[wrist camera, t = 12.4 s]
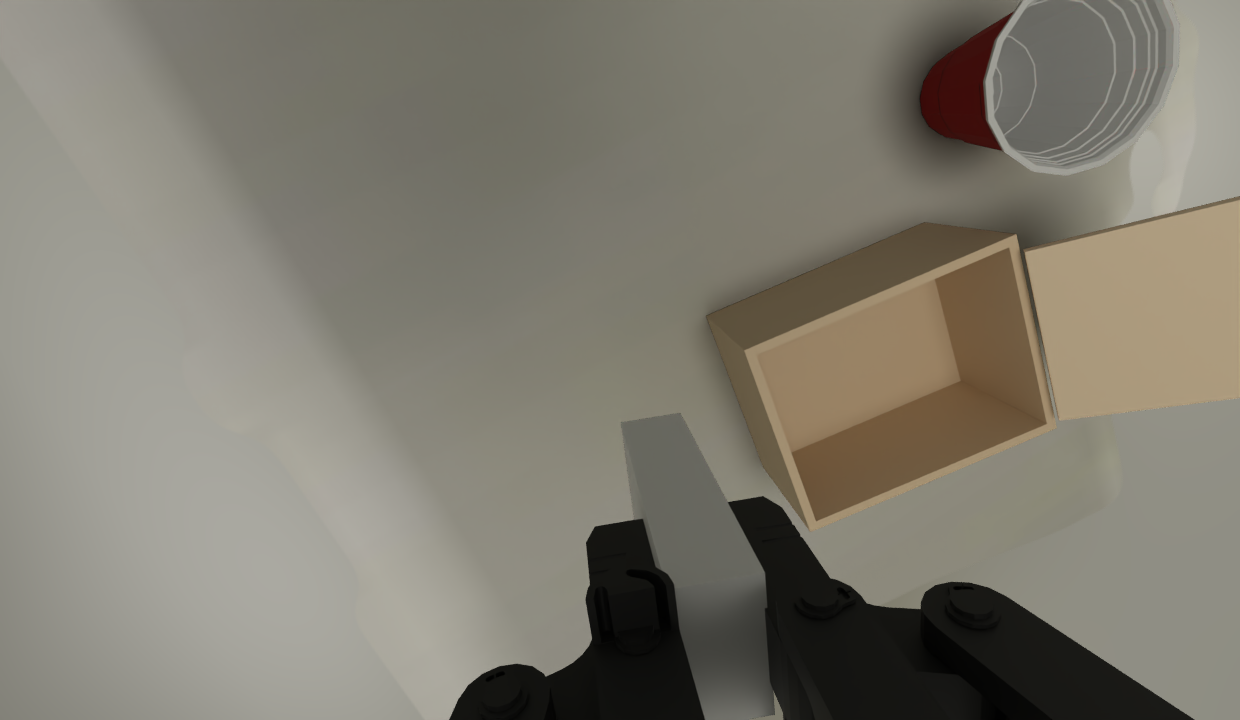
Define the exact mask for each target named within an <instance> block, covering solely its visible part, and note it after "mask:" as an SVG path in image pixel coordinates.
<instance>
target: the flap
mask: <svg viewBox="0 0 1240 720" xmlns="http://www.w3.org/2000/svg"><path fill="white" fill-rule="evenodd" d="M1024 254H1025V259H1026V264H1027V269H1028V274H1029V279H1030V283H1031V288H1032V293H1033V298H1034V303H1035V308H1036V312H1037V317H1038V322H1039V327H1040V332H1041V337H1042V342H1043V346H1044V351H1045V356H1046V361H1047V366H1048V371H1049V376H1050V380H1051V385H1052V390H1053V395H1054V400H1055V405H1056V410H1057V414H1058V418H1059V421H1060V420H1068V419H1076V418H1084V417H1092V416H1100V415H1108V414H1116V413H1123V412H1132V411H1140V410H1147V409H1155V408H1163V407H1171V406H1180V405H1188V404H1196V403H1203V402H1211V401H1219V400H1227V399H1235V398H1240V196H1239V197H1234V198H1231V199H1226V200H1222V201H1218V202H1214V203H1210V204H1206V205H1202V206H1198V207H1193V208H1189V209H1185V210H1181V211H1177V212H1173V213H1169V214H1165V215H1161V216H1157V217H1153V218H1149V219H1145V220H1140V221H1136V222H1132V223H1128V224H1124V225H1120V226H1116V227H1112V228H1108V229H1103V230H1099V231H1095V232H1091V233H1087V234H1083V235H1079V236H1075V237H1071V238H1067V239H1063V240H1058V241H1054V242H1050V243H1046V244H1042V245H1038V246H1034V247H1030V248H1026V249H1024Z"/></svg>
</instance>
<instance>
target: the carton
mask: <svg viewBox="0 0 1240 720" xmlns="http://www.w3.org/2000/svg"><path fill="white" fill-rule="evenodd" d="M706 317H707V320H708V322H709V325H710V328H711V330H712V333H713V336H714V338H715V341H716V344H717V346H718V349H719V351H720V354H721V357H722V359H723V362H724V365H725V367H726V370H727V373H728V375H729V378H730V380H731V383H732V386H733V388H734V391H735V394H736V396H737V399H738V402H739V404H740V407H741V410H742V412H743V415H744V417H745V420H746V423H747V425H748V428H749V431H750V433H751V436H752V439H753V441H754V444H755V446H756V449H757V452H758V454H759V457H760V460H761V462H762V465H763V467H764V469H765V470H766V472H767V473H768V474H769V476H770V477H771V478H772V480H773V481H774V483H775V484H776V485H777V487H778V488H779V489H780V491H781V492H782V494H783V495H784V496H785V498H786V499H787V500H788V502H789V503H790V505H791V506H792V507H793V509H794V510H795V511H796V513H797V514H798V516H799V517H800V518H801V520H802V521H803V522H804V524H805V525H806V527H807V528H808V529H809V531H810V532H812V531H814V530H816V529H819V528H821V527H824V526H826V525H828V524H831V523H833V522H835V521H838V520H840V519H842V518H845V517H847V516H850V515H852V514H854V513H857V512H859V511H861V510H864V509H866V508H869V507H871V506H873V505H876V504H878V503H880V502H883V501H885V500H887V499H890V498H892V497H895V496H897V495H899V494H902V493H904V492H906V491H909V490H911V489H914V488H916V487H918V486H921V485H923V484H925V483H928V482H930V481H933V480H935V479H937V478H940V477H942V476H944V475H947V474H949V473H951V472H954V471H956V470H959V469H961V468H963V467H966V466H968V465H970V464H973V463H975V462H978V461H980V460H982V459H985V458H987V457H989V456H992V455H994V454H996V453H999V452H1001V451H1004V450H1006V449H1008V448H1011V447H1013V446H1015V445H1018V444H1020V443H1023V442H1025V441H1027V440H1030V439H1032V438H1034V437H1037V436H1039V435H1042V434H1044V433H1046V432H1049V431H1051V430H1053V429H1056V428H1057V427H1056V422H1055V417H1054V413H1053V408H1052V403H1051V398H1050V393H1049V389H1048V384H1047V379H1046V374H1045V369H1044V364H1043V360H1042V355H1041V350H1040V345H1039V340H1038V336H1037V331H1036V326H1035V321H1034V316H1033V312H1032V307H1031V302H1030V297H1029V292H1028V288H1027V283H1026V278H1025V273H1024V268H1023V264H1022V259H1021V254H1020V249H1019V244H1018V240H1017V235H1016V234H1011V233H1003V232H996V231H988V230H980V229H972V228H964V227H956V226H949V225H941V224H933V223H925V222H924V223H922V224H919V225H917V226H915V227H912V228H910V229H908V230H905V231H903V232H901V233H898V234H896V235H894V236H891V237H889V238H887V239H884V240H882V241H880V242H877V243H875V244H873V245H870V246H868V247H866V248H863V249H861V250H859V251H856V252H854V253H852V254H849V255H847V256H845V257H842V258H840V259H838V260H835V261H833V262H831V263H828V264H826V265H824V266H821V267H819V268H817V269H814V270H812V271H810V272H807V273H805V274H803V275H800V276H798V277H796V278H793V279H791V280H789V281H786V282H784V283H782V284H779V285H777V286H775V287H772V288H770V289H768V290H765V291H763V292H761V293H758V294H756V295H754V296H751V297H749V298H747V299H744V300H742V301H740V302H737V303H735V304H733V305H730V306H728V307H726V308H723V309H721V310H719V311H716V312H714V313H712V314H709V315H707V316H706Z"/></svg>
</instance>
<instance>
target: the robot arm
mask: <svg viewBox="0 0 1240 720" xmlns="http://www.w3.org/2000/svg"><path fill="white" fill-rule="evenodd" d="M621 428H622V435H623V442H624V450H625V457H626V464H627V471H628V478H629V486H630V493H631V500H632V507H633V515H634V520H631V521H625V522H619V523H613V524H607V525H602V526H596V527H594V529H593V531H592V533H591V535H590V536H589V538H588V540H587V542H586V546H587V557H588V568H589V578H590V586H589V587H588V590H587V595H586V605H587V611H588V617H589V623H590V628H591V634H592V640H591V643H590V645H589V647H588V648H587V649H586V651H585V652H584V653H583V655H582V656H580V657H579V658H578V659H577V660H576V661H575V662H573V663H572V664H570V665H568V666H567V667H565V668H563V669H562V670H560V671H557V672H555V673H553V674H551V675H549V676H546V677H545V675H544V674H543V673H542V672H540V671H539V670H537V669H536V668H534V667H533V666H527V665H521V664H512V665H505V666H499V667H497V668H495V669H492V670H490V671H488V672H486V673H483V674H482V675H481V676H479V677H478V678H477V679H476V680H474V681H473V682H472V683H471V684H469V685H468V686H467V688H466V689H465V691H464V692H463V694H462V695H461V697H460V698H459V699H458V701H457V704H456V706H455V708H454V710H453V712H452V715H451V717H450V719H449V720H749V719H754V718H759V717H764V716H769V715H775V709H774V695H773V690H774V693H775V695H776V697H777V700H778V702H779V704H780V707H781V709H782V711H783V718H784V720H1194V719H1193V718H1191V717H1190V716H1188V715H1187V714H1185V713H1183V712H1182V711H1180V710H1179V709H1177V708H1176V707H1174V706H1173V705H1171V704H1170V703H1168V702H1167V701H1165V700H1164V699H1162V698H1161V697H1159V696H1158V695H1156V694H1154V693H1153V692H1151V691H1150V690H1148V689H1147V688H1145V687H1144V686H1142V685H1141V684H1139V683H1138V682H1136V681H1135V680H1133V679H1132V678H1130V677H1129V676H1127V675H1125V674H1124V673H1122V672H1121V671H1119V670H1118V669H1116V668H1115V667H1113V666H1112V665H1110V664H1109V663H1107V662H1106V661H1104V660H1103V659H1101V658H1100V657H1098V656H1096V655H1095V654H1093V653H1092V652H1090V651H1089V650H1087V649H1086V648H1084V647H1082V646H1081V645H1080V644H1078V643H1077V642H1075V641H1073V640H1072V639H1071V638H1069V637H1067V636H1066V635H1064V634H1063V633H1061V632H1060V631H1058V630H1057V629H1055V628H1054V627H1052V626H1051V625H1049V624H1048V623H1046V622H1045V621H1043V620H1041V619H1040V618H1038V617H1037V616H1035V615H1034V614H1032V613H1031V612H1029V611H1028V610H1026V609H1025V608H1023V607H1022V606H1020V605H1019V604H1017V603H1015V602H1014V601H1013V600H1011V599H1009V598H1008V597H1006V596H1004V595H1002V594H1000V593H998V592H996V591H994V590H992V589H990V588H988V587H984V586H980V585H976V584H973V583H965V582H963V583H962V582H948V583H944V584H939V585H935V586H934V587H932V588H931V589H929V590H928V591H926V592H925V594H924V596H923V599H922V601H921V609H907V608H889V607H881V606H874V605H871V604H867V603H866V602H865V601H864V599H863V598H862V596H861V595H859V594H858V593H857V592H856V591H855V590H854V589H853V588H852V587H851V586H849V585H847V584H844V583H842V582H840V581H838V580H835V579H830V577H829V576H828V574H827V573H826V572H825V570H824V569H823V567H822V566H821V564H820V563H819V561H818V560H817V558H816V557H815V555H814V554H813V552H812V551H811V550H810V548H809V547H808V545H807V544H806V542H805V541H804V539H803V538H802V537H800V533H799V532H798V531H797V529H796V528H795V526H794V525H792V522H791V520H790V519H789V517H788V516H787V514H786V513H785V511H784V510H783V509H782V507H780V506H779V505H777V504H775V503H774V502H772V501H770V500H769V499H767V498H765V497H764V496H762V497H756V498H750V499H744V500H738V501H732V502H727V500H726V498H725V496H724V494H723V493H722V491H721V489H720V487H719V485H718V483H717V481H716V479H715V478H714V476H713V474H712V472H711V470H710V468H709V466H708V464H707V462H706V461H705V459H704V457H703V455H702V453H701V451H700V449H699V447H698V445H697V444H696V442H695V440H694V438H693V436H692V434H691V432H690V430H689V429H688V427H687V425H686V423H685V421H684V419H683V417H682V415H681V413H677V414H670V415H664V416H658V417H652V418H645V419H639V420H633V421H627V422H621Z"/></svg>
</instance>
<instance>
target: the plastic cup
mask: <svg viewBox="0 0 1240 720" xmlns="http://www.w3.org/2000/svg"><path fill="white" fill-rule="evenodd" d="M1179 43H1180V23H1179V20H1178V18H1177V15H1176V13H1175V10H1174V8H1173V5H1172V3H1171V0H1023V1H1022V2H1020V3H1019V5H1018V6H1017V8H1016V9H1015V11H1014V12H1012V13H1011V14H1009V15H1007V16H1006V17H1004V18H1003V19H1001V20H999V21H998V22H996V23H994V24H993V25H991V26H989V27H988V28H986V29H985V30H983V31H981V32H980V33H978V34H976V35H975V36H973V37H972V38H970V39H969V40H968V41H967V42H965V43H964V44H963V45H961V46H959V47H958V48H956V49H954V50H953V51H951V52H950V53H948V54H947V55H946V56H945V57H943V58H942V59H941V60H940V61H938V62H937V63H936V64H935V65H934V66H933V67H932V69H931V70H930V72H929V74H928V75H927V77H926V79H925V80H924V82H923V87H922V91H921V96H920V103H921V110H922V115H923V117H924V118H925V120H926V122H927V124H928V125H929V127H930V128H932V129H933V130H935V131H936V132H938V133H939V134H941V135H943V136H944V137H948V138H954V139H959V140H963V141H964V142H967V143H971V144H975V145H980V146H984V147H988V148H993V149H997V150H1001V151H1003V152H1005V153H1006V154H1008V155H1009V156H1011V157H1012V158H1014V159H1015V160H1016V161H1018V162H1019V163H1021V164H1022V165H1024V166H1025V167H1027V168H1028V169H1029V170H1031V171H1033V172H1041V173H1049V174H1056V175H1064V176H1068V175H1071V174H1075V173H1078V172H1081V171H1085V170H1088V169H1092V168H1095V167H1099V166H1102V165H1104V164H1106V163H1107V162H1108V161H1110V160H1111V159H1113V158H1114V157H1115V156H1117V155H1118V154H1120V153H1121V152H1122V151H1124V150H1125V149H1127V148H1128V147H1130V146H1131V145H1132V144H1134V143H1135V142H1137V140H1138V139H1139V138H1140V137H1141V135H1142V134H1143V133H1144V131H1145V130H1146V129H1147V127H1148V126H1149V125H1150V124H1151V122H1152V121H1153V120H1154V118H1155V117H1156V116H1157V114H1158V113H1159V112H1160V111H1161V109H1162V108H1163V107H1164V104H1165V101H1166V99H1167V96H1168V93H1169V91H1170V88H1171V85H1172V83H1173V80H1174V77H1175V75H1176V72H1177V69H1178V67H1179Z"/></svg>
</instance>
